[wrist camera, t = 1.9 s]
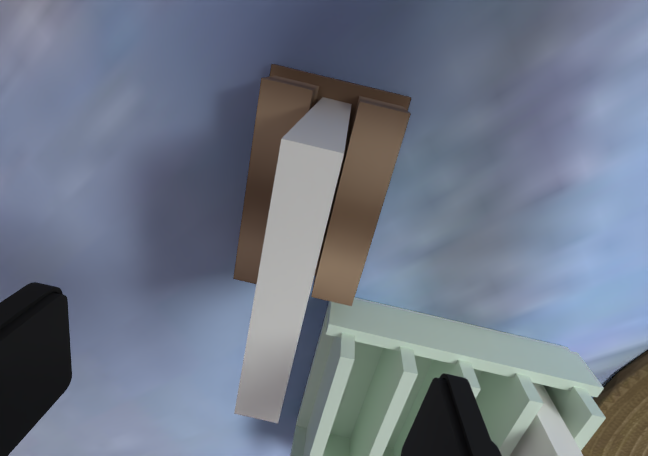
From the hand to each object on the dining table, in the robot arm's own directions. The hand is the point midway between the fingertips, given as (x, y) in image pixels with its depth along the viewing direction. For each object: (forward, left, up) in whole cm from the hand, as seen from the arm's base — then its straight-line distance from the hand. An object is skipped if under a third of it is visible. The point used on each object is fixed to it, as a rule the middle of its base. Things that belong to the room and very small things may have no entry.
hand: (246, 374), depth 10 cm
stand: (-1, 0, -15) cm, 15 cm away
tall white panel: (-1, 0, -14) cm, 14 cm away
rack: (+13, +11, -15) cm, 23 cm away
